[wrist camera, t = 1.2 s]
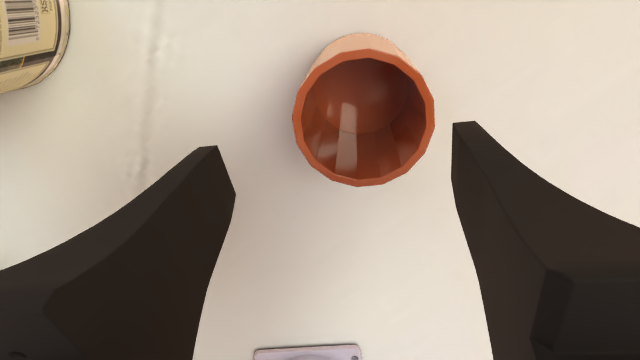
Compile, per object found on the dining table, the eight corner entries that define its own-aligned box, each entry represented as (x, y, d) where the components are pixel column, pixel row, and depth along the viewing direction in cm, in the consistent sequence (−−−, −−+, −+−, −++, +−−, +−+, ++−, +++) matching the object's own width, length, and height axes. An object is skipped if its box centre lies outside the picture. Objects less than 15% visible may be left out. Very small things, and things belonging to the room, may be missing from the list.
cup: (415, 129, 24) (437, 179, 18) (317, 141, 25) (305, 192, 19) (409, 25, 22) (431, 39, 16) (301, 41, 23) (281, 60, 16)
